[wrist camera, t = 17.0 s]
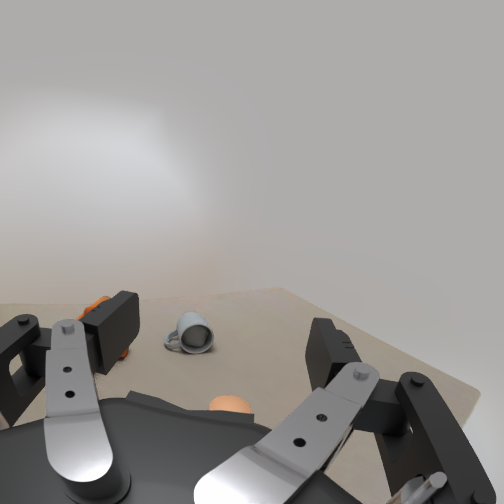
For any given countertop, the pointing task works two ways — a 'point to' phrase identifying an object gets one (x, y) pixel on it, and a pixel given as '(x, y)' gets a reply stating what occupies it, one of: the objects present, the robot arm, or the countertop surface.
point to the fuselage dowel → (230, 404)
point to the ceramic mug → (191, 334)
